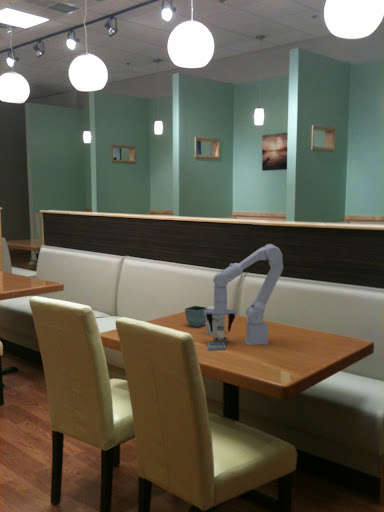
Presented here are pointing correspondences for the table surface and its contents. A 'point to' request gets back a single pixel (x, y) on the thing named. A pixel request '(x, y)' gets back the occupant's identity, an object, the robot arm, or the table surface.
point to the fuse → (220, 333)
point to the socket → (220, 340)
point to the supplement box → (214, 322)
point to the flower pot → (195, 316)
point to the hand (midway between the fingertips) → (220, 331)
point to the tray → (216, 346)
